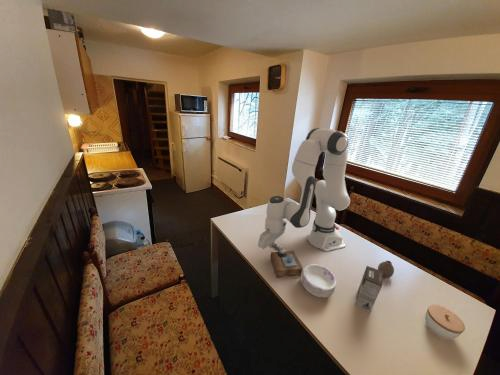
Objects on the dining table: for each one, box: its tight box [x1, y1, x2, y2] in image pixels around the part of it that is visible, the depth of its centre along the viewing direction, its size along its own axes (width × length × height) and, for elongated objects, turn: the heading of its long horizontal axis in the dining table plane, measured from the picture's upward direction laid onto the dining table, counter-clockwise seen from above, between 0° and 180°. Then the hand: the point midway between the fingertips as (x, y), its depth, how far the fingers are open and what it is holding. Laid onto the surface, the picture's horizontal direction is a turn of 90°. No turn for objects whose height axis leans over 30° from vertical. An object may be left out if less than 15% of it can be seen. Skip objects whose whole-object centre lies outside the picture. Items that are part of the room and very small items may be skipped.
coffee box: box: [355, 265, 384, 313], centre depth 88 cm, size 9×6×16 cm
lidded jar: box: [424, 304, 466, 340], centre depth 79 cm, size 11×11×9 cm
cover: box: [282, 254, 297, 267], centre depth 103 cm, size 6×6×4 cm
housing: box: [269, 250, 303, 279], centre depth 106 cm, size 13×13×5 cm
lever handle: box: [271, 242, 287, 256], centre depth 110 cm, size 10×3×3 cm, turn 44°
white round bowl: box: [300, 263, 338, 298], centre depth 95 cm, size 15×15×8 cm
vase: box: [377, 260, 395, 279], centre depth 104 cm, size 7×7×9 cm
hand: (270, 246), depth 111 cm, fingers closed
